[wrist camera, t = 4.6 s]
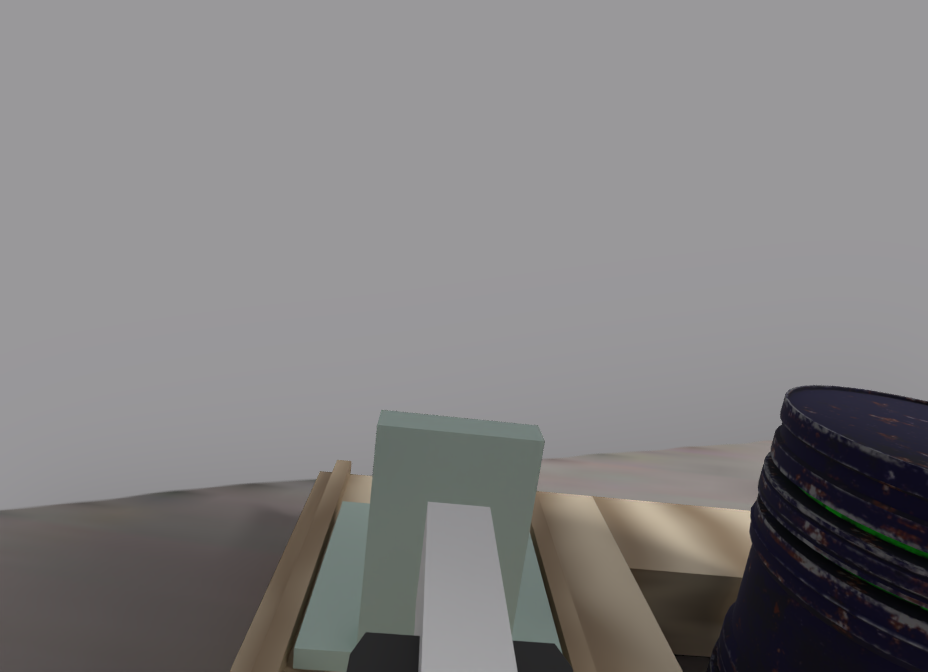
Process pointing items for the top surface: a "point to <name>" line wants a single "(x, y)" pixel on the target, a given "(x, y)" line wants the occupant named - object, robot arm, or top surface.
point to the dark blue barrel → (836, 541)
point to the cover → (402, 531)
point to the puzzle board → (556, 577)
